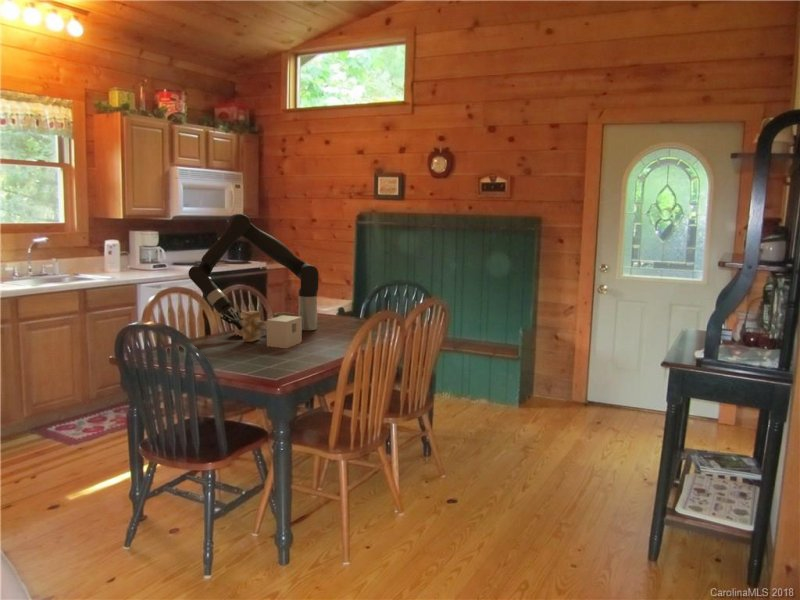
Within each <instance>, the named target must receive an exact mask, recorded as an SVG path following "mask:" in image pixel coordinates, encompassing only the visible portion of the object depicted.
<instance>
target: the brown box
mask: <svg viewBox="0 0 800 600" xmlns="http://www.w3.org/2000/svg"><path fill="white" fill-rule="evenodd" d="M260 318H261V311H259V310H249V311H246V312H245V313H243V336H242V341H243V342H247V343H251V342H255V341H258V340H260V339H261V330H266V331H267V320H261V319H260Z"/></svg>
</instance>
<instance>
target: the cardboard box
mask: <svg viewBox="0 0 800 600" xmlns="http://www.w3.org/2000/svg"><path fill="white" fill-rule="evenodd" d="M267 319H268V318H267ZM266 321H267V330H266V347H269V346H270V348H271V347H272V348H278V347H279V349H280V348H281V349H289V348H291V346H292V347H294V346H297V345H299V344H302V343H301V342H303V341H302V339H303V338H302V335H303V334H302V332H303V330H302V317H299V316H295V315H294V316H285V315H282V316H278V317H275V318H272V319H268V320H266ZM296 344H297V345H296Z"/></svg>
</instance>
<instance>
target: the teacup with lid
mask: <svg viewBox="0 0 800 600" xmlns="http://www.w3.org/2000/svg"><path fill="white" fill-rule="evenodd" d="M245 312H247V311H246V310H242V311H241V312H240V316H241V319H240V322H241V324H242V325H243V313H245ZM235 334H237V335H243V329H242V330H239V329H238V328H237V327H236V326H235V325H234V335H235ZM237 335H236V336H237Z"/></svg>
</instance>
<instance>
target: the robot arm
mask: <svg viewBox="0 0 800 600" xmlns="http://www.w3.org/2000/svg"><path fill="white" fill-rule="evenodd" d="M240 237H243V238H244V239H246V240H248V241H249V242H250V243H251V244H253V245H254V246H255V247H256V248H257V249H258V250H260V251H261V252H262V253H263V254H265V255H266V256H268V258H269V259H272V260H273V261H275V262H276V263H278V264H280V265H281V266H284V267H285V268H286V269H288V270H289V271H290V272H291V273H293V274H294V275H295V276H296V277H297V278H299V279H298V280H300V287H299V289H298V317H302V331H315V330H317V328H318V292H319V291H318V290H319V282H320V281H319V280H320V278H319V276H320V275H319V270H318V268H317V267H316V266H315V265H313V264H309V263H307V262H305V261H304V260H301V259H300V258H298V256H296V255H295V253H293V252H292V251H291V250H290V249H289V248H288V247H287V246H286V245H285V244H284V243H283V242H282V241H280V240H278V239H277V238H275V237H274V236H272V235H270V234H269V233H266V232H265V231H263V230H261V229H259V228H258V227H256V226H255V225H254V224H253V223H251V219H250V218H249V217H248V215H245V214H243V213H235V214H233V215H231V216H230V217H229V219H228V227H227V229H226V231H225V232H224V233H223V234H222V236H220V238H218V239H217V241H215V242H214V243H213V244H212V245H211V246H210V247H209V248H208V249H207V251H206V252H205V253H204V255H203V256H202V257H201V263H200V264H199V265H195V266H194V265H193V266H192V267H190V268H189V269H188V272H187V275H188V277H189V279H190V280H191V281H192V282H193V283H194V284H195V286H197V288H198V289H199V290H200V291H201V292H202V294H203V295H204V296H205V297H206V299H207V301H208V302H209V304H210V305H211V306H212V307H213V309H214V310H215V311H216V312H217V313H218V314H221V316H220V319H221V320H223V321H225V322H226V323H228V324H230V325H234V327H235V326H236V327H237V328H238V329H239V330H242V329H243V325H242V324H241V322H240V319H241V316H240V313H241V312H240V310H235V308H233V307H232V302H231V301H230V300H229V298H228V297H227V296H226V295H225V293H224V292H223V291H222V290H221V289H220V288H219V287H218V286H217V284H215V282H214V281H212V280H211V278H210V275H211V273H212V271H213V269H214V267H216V265H217V264H218V263H219V262H220V260H221V259H222V258H223V257H224V255H225V254H226V253H227V252H228V251H229V249H230V248H231V247H232V246H233V244H234V243H236V241H237V240H238V239H240Z"/></svg>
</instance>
